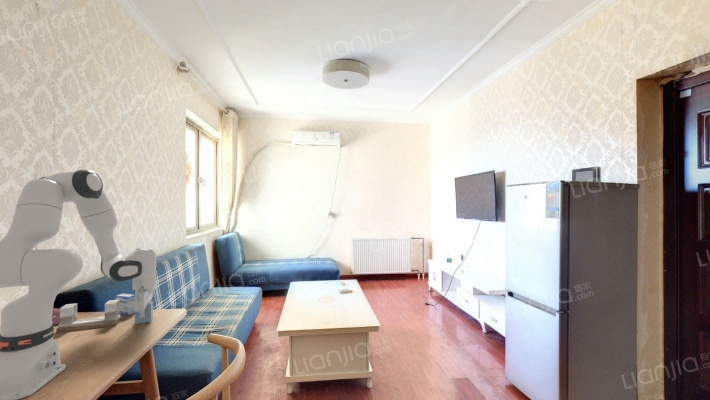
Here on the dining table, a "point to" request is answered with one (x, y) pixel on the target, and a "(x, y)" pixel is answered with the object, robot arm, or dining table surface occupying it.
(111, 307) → the rail mount
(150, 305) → the module block
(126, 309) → the medicine box
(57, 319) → the video game controller
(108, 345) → the dining table surface
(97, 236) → the robot arm
